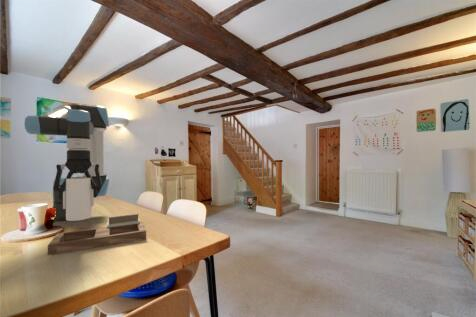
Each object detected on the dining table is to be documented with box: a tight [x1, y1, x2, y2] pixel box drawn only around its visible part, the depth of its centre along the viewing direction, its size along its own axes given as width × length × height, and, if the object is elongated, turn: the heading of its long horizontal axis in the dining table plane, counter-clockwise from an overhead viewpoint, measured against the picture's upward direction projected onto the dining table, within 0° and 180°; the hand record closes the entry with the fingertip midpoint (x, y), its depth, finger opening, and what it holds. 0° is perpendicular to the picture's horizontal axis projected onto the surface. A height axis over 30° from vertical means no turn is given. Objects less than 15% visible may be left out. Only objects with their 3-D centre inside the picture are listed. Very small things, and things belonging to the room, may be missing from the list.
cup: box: [65, 176, 93, 222], centre depth 86 cm, size 8×8×16 cm
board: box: [47, 221, 147, 256], centre depth 96 cm, size 27×32×4 cm
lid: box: [106, 213, 141, 228], centre depth 104 cm, size 13×13×4 cm
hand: (79, 206), depth 87 cm, fingers closed on cup, 8 cm apart
